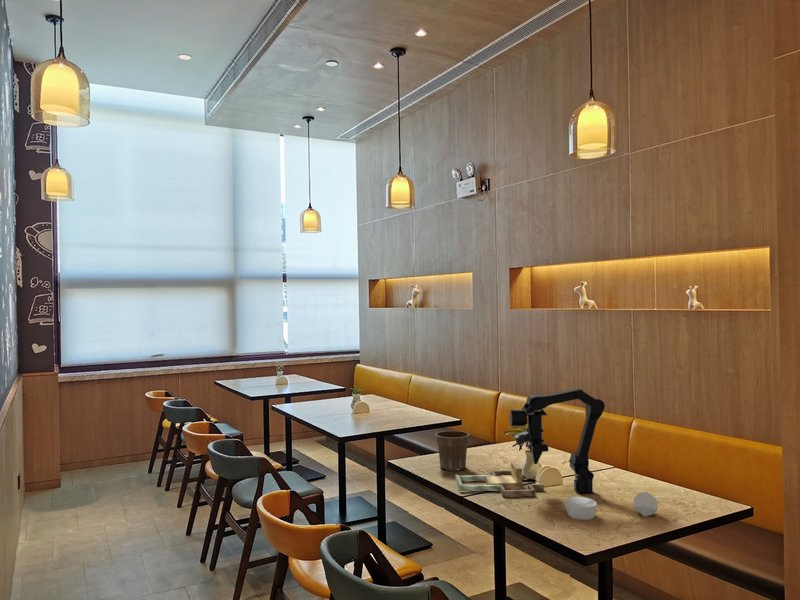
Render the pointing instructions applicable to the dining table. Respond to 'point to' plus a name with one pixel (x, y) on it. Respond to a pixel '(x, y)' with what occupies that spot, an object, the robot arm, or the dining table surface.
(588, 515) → the ramekin
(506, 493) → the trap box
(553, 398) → the robot arm
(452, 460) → the plant pot
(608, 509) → the dining table surface
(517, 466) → the beige l-shaped bracket
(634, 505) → the die
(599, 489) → the dining table surface
